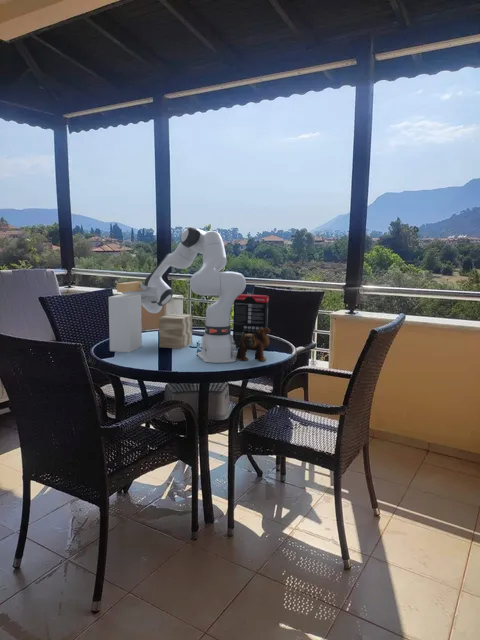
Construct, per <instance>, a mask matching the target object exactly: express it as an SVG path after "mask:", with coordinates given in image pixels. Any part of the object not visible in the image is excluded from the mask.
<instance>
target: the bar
mask: <svg viewBox="0 0 480 640" xmlns="http://www.w3.org/2000/svg"><path fill="white" fill-rule="evenodd" d="M139 284H143V281H139V280H138V281H128V282H120V283H119V282H118V283H116V292H117V293H121V292H130V291H136V290H142V288H139Z"/></svg>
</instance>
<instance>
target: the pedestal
mask: <svg viewBox="0 0 480 640" xmlns="http://www.w3.org/2000/svg"><path fill="white" fill-rule="evenodd" d="M158 330H159V332H158V339H159V340H158V341H159V342H158V343H159V344H158V346H159V348H165V349H166V348H168V349H182V350H183V349H185V347H187V346H189V345H191V344H192V343H193V314H190V313H189V314H187V313H168V314H166V315H163V316H160V317H158Z"/></svg>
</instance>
